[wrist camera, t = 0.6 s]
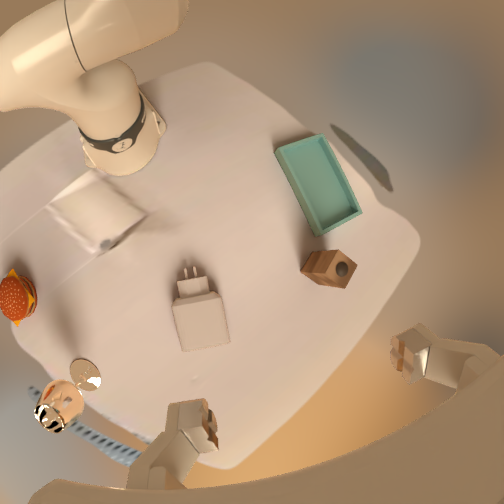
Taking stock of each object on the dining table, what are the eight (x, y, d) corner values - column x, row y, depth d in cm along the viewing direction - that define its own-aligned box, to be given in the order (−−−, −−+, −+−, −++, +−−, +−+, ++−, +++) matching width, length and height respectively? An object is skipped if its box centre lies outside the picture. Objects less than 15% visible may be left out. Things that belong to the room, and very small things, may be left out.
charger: (212, 262, 53) (227, 336, 53) (166, 271, 51) (182, 345, 51) (215, 262, 49) (231, 343, 49) (164, 272, 47) (182, 352, 47)
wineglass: (102, 394, 47) (73, 444, 27) (71, 386, 45) (34, 430, 25) (100, 362, 47) (65, 405, 28) (68, 355, 45) (24, 391, 26)
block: (300, 271, 57) (325, 273, 46) (312, 251, 58) (338, 249, 47) (318, 284, 58) (345, 288, 47) (329, 264, 59) (358, 265, 48)
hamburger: (3, 296, 42) (-13, 299, 35) (21, 266, 44) (5, 266, 37) (26, 327, 43) (11, 333, 37) (45, 297, 45) (30, 300, 38)
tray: (273, 152, 57) (278, 147, 54) (317, 138, 59) (322, 132, 56) (315, 236, 58) (321, 235, 55) (355, 215, 61) (362, 213, 58)
